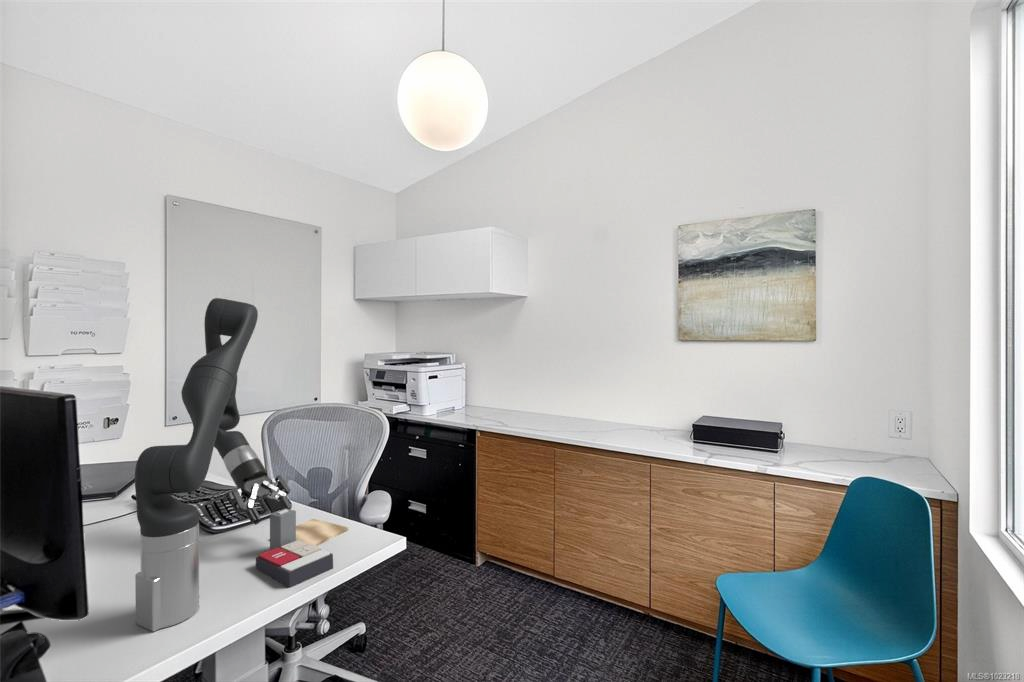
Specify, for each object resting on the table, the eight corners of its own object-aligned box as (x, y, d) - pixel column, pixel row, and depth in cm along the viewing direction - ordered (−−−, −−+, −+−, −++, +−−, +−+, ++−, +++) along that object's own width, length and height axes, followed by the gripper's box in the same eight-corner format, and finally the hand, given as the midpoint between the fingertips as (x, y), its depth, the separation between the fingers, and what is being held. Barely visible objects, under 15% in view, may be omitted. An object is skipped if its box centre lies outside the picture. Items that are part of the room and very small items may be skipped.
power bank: (280, 556, 115) (280, 515, 115) (270, 553, 116) (269, 512, 116) (296, 549, 119) (295, 509, 119) (285, 546, 120) (285, 507, 120)
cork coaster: (306, 550, 118) (306, 547, 118) (270, 540, 124) (270, 537, 124) (348, 530, 131) (348, 527, 131) (313, 521, 137) (313, 518, 137)
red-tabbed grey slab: (299, 537, 118) (333, 550, 109) (299, 554, 118) (334, 568, 109) (254, 554, 109) (288, 569, 100) (255, 572, 109) (288, 589, 100)
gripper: (224, 464, 116) (254, 517, 111) (275, 452, 129) (304, 499, 124) (211, 482, 119) (240, 535, 114) (262, 468, 131) (290, 515, 127)
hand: (273, 516), depth 119 cm, fingers open, 8 cm apart
